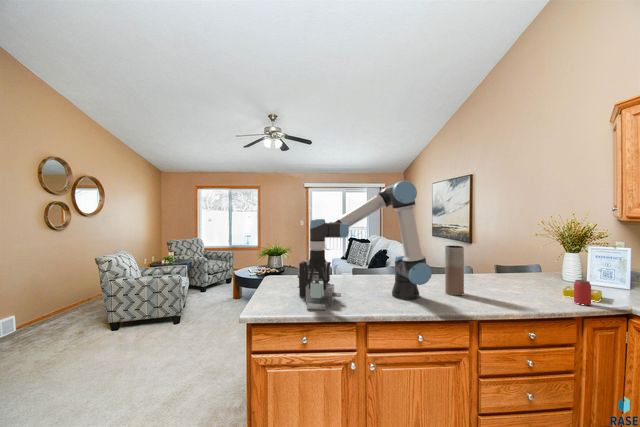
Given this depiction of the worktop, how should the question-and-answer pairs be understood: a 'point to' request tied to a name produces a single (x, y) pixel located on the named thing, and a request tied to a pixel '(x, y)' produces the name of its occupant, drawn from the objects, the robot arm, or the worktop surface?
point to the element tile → (595, 294)
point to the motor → (321, 302)
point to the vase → (454, 270)
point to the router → (302, 277)
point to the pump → (316, 289)
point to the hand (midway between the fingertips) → (317, 295)
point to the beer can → (582, 292)
